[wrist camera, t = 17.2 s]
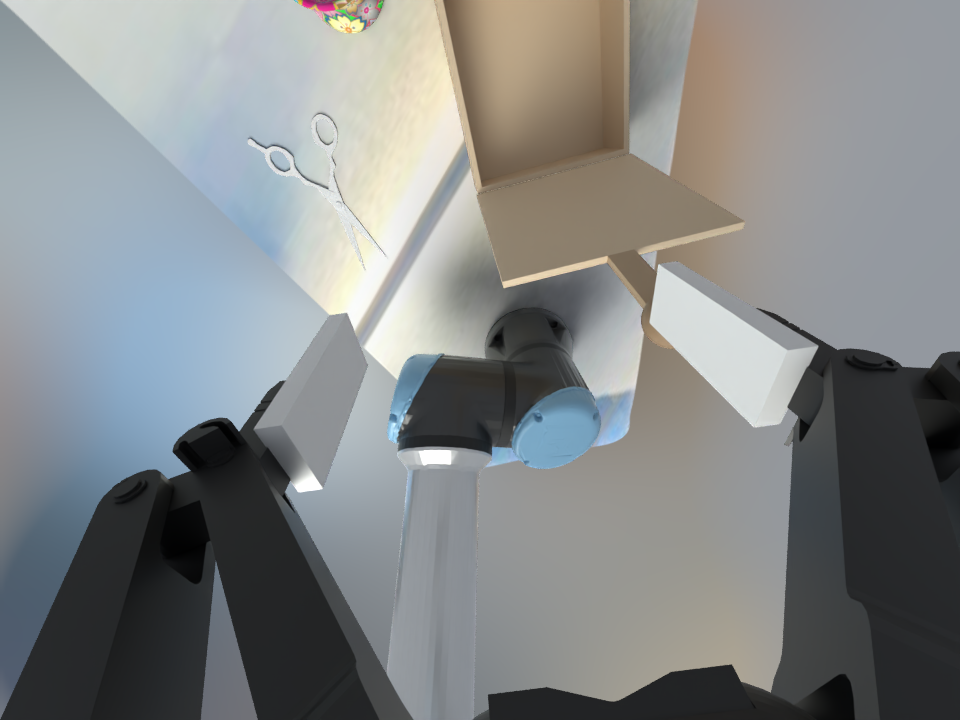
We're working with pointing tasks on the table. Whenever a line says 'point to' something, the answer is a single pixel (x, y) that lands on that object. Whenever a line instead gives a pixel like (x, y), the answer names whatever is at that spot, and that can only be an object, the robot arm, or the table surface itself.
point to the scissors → (329, 194)
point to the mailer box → (538, 84)
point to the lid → (598, 225)
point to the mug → (345, 13)
